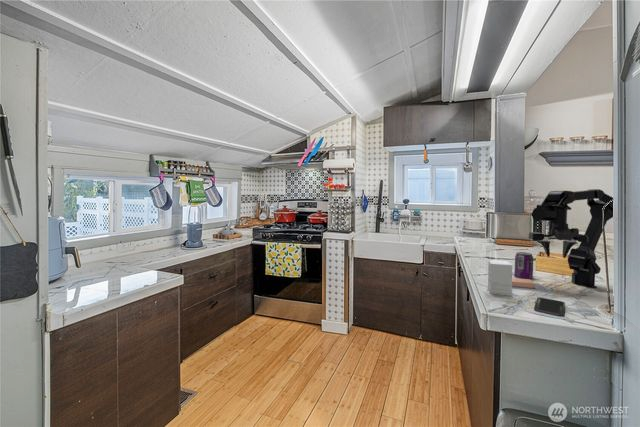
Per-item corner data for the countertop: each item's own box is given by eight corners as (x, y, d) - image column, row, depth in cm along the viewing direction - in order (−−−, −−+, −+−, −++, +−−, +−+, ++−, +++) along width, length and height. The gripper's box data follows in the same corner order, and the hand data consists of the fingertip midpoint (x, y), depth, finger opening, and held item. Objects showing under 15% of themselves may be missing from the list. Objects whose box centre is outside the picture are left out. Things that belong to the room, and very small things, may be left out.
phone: (533, 308, 95) (537, 296, 107) (533, 311, 96) (537, 299, 107) (564, 315, 90) (565, 301, 101) (564, 318, 90) (565, 305, 101)
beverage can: (535, 280, 130) (536, 255, 129) (518, 279, 131) (519, 254, 131) (527, 276, 137) (528, 252, 136) (511, 275, 138) (512, 251, 137)
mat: (538, 284, 124) (539, 283, 124) (550, 293, 112) (550, 292, 112) (501, 281, 128) (502, 280, 128) (509, 289, 117) (509, 288, 117)
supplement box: (508, 291, 115) (509, 261, 114) (511, 297, 108) (512, 265, 108) (487, 289, 118) (488, 259, 118) (489, 294, 112) (490, 263, 111)
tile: (530, 279, 122) (503, 277, 126) (535, 283, 116) (507, 281, 120) (529, 284, 122) (503, 282, 126) (535, 288, 117) (506, 286, 120)
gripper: (538, 221, 114) (536, 259, 115) (597, 222, 108) (595, 263, 108) (528, 219, 125) (527, 254, 125) (581, 220, 118) (580, 257, 119)
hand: (556, 257), depth 119 cm, fingers open, 5 cm apart
